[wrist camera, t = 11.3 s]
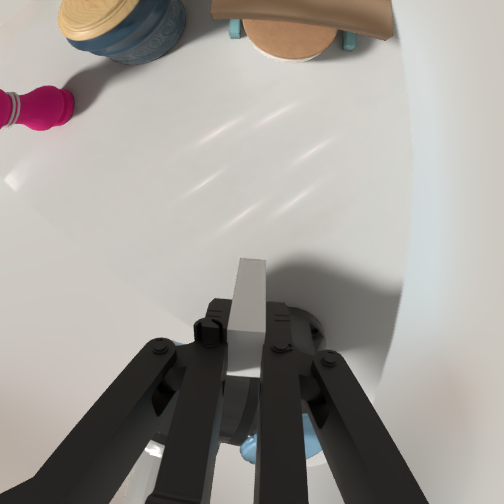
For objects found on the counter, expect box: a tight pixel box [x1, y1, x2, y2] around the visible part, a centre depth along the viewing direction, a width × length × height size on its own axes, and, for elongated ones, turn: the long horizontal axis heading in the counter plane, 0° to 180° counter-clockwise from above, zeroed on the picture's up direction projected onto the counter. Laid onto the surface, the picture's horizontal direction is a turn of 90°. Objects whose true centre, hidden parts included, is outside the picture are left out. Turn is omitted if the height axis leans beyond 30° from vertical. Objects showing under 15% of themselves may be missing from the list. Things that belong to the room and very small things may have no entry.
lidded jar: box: [242, 19, 338, 63], centre depth 26 cm, size 11×11×9 cm
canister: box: [58, 0, 186, 65], centre depth 22 cm, size 13×13×18 cm
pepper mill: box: [0, 86, 74, 131], centre depth 25 cm, size 7×7×20 cm
